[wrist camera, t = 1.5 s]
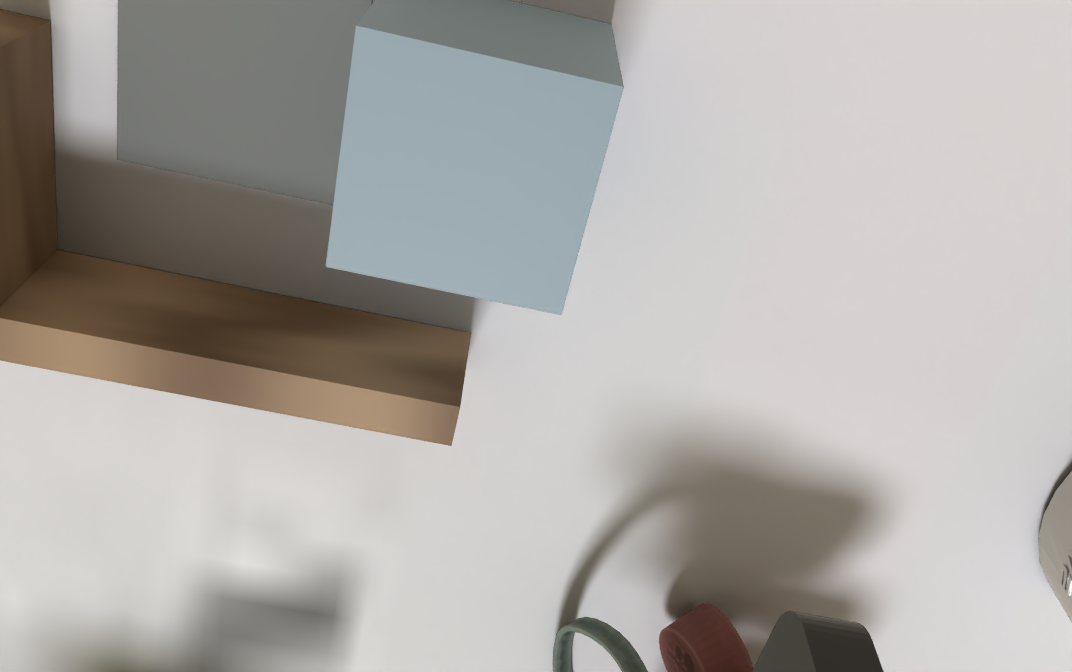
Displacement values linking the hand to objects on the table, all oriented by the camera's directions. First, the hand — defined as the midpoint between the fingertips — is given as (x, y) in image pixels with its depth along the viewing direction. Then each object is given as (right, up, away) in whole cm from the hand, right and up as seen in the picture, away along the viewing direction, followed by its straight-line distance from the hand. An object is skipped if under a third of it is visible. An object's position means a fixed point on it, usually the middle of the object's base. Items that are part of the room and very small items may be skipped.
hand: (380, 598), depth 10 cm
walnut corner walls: (-6, +6, +15) cm, 17 cm away
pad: (-5, +9, +13) cm, 17 cm away
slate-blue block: (0, +8, +14) cm, 16 cm away
